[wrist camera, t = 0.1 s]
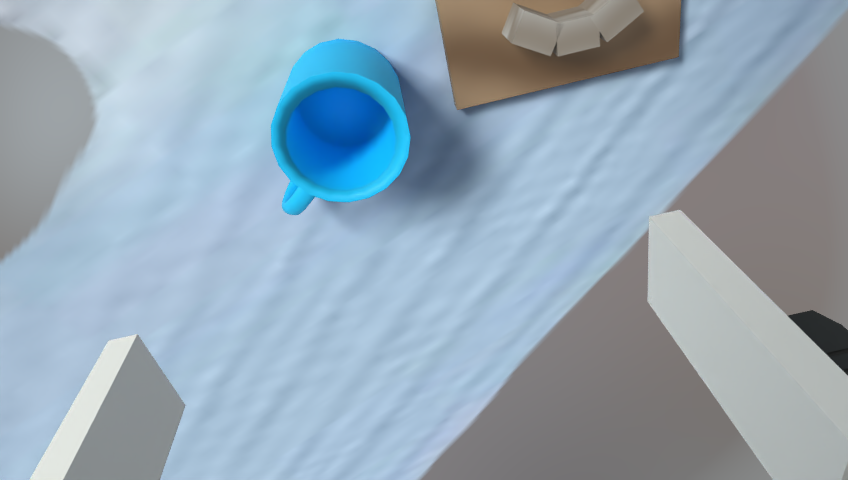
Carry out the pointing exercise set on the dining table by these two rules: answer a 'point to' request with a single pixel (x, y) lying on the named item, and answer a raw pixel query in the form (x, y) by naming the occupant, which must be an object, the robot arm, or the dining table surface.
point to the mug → (339, 125)
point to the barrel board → (534, 69)
